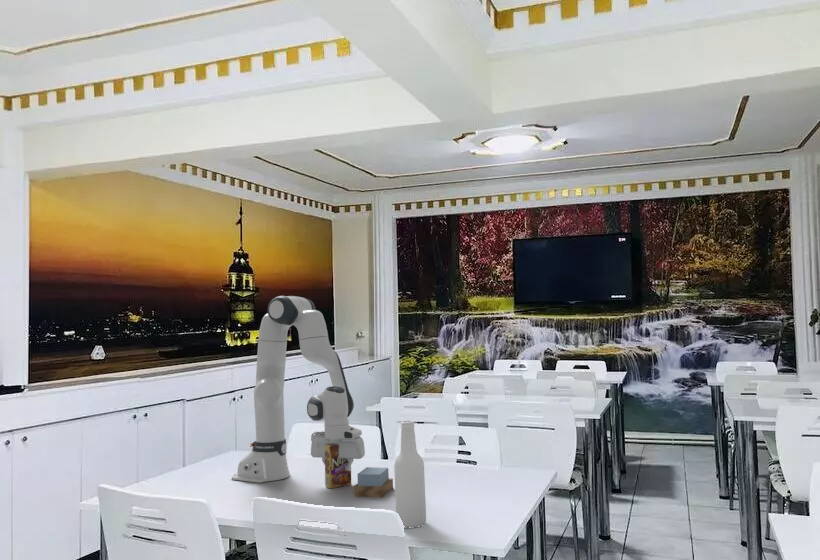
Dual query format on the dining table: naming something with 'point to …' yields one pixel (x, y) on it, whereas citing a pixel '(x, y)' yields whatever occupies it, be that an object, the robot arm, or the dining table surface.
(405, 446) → the alcohol
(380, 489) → the tower base
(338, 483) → the candy box
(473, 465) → the dining table surface
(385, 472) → the tower top
